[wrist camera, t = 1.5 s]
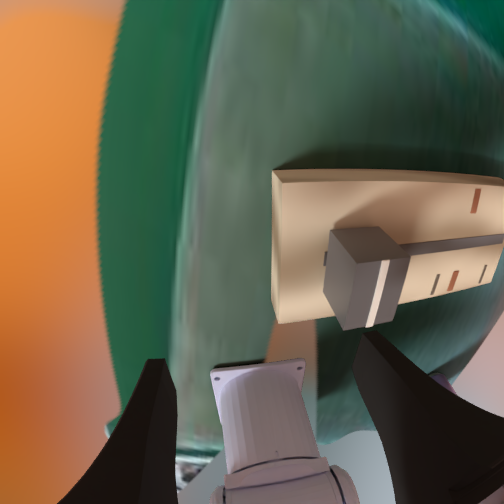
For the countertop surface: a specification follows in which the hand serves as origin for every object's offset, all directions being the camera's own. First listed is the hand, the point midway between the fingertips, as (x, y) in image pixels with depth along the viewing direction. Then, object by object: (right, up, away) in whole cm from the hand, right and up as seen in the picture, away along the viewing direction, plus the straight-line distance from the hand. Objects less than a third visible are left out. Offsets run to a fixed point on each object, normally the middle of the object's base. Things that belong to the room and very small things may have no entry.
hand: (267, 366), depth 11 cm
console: (+11, +6, +10) cm, 15 cm away
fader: (+5, +4, +6) cm, 9 cm away
